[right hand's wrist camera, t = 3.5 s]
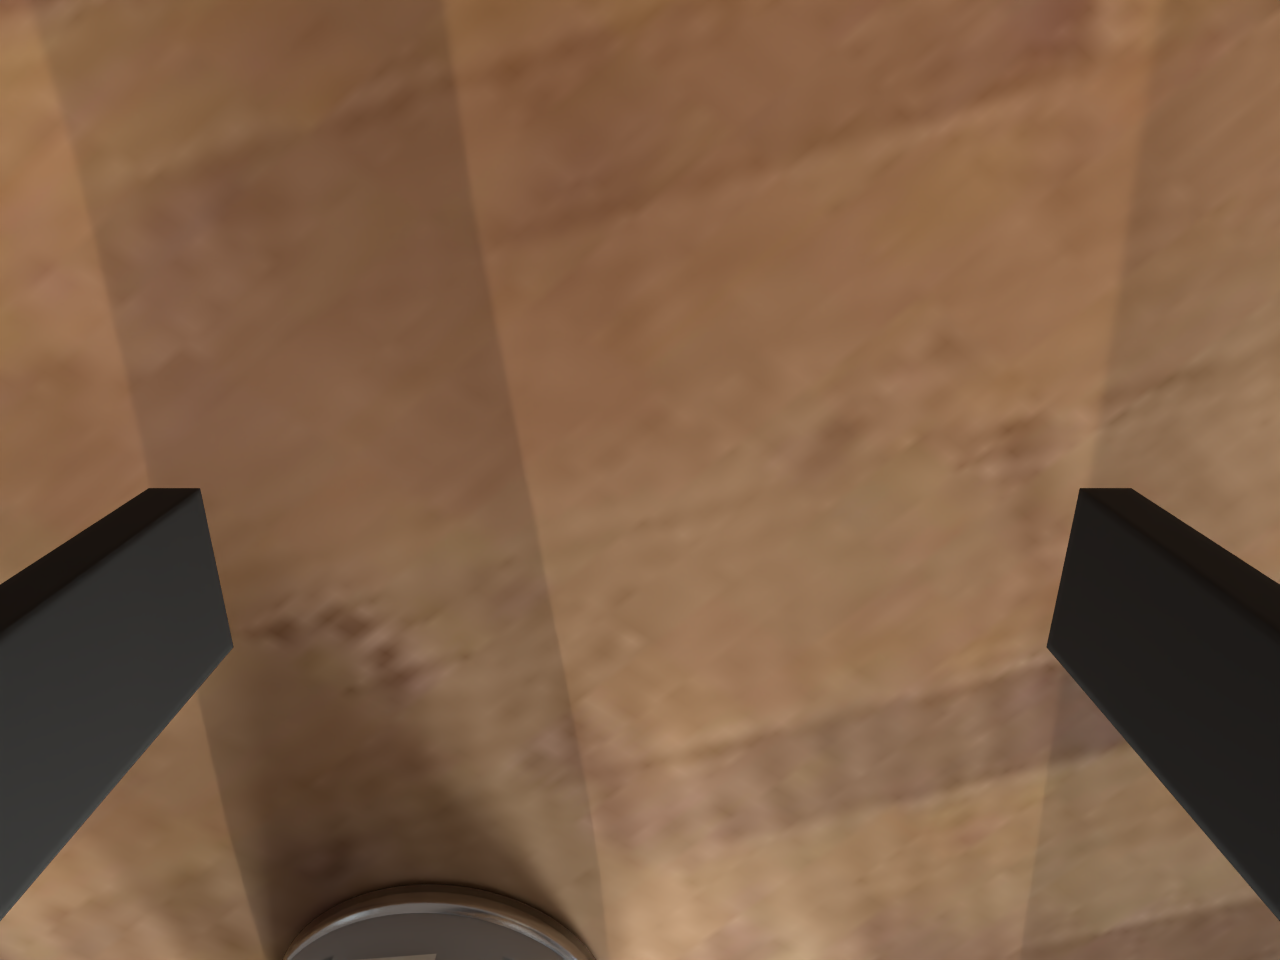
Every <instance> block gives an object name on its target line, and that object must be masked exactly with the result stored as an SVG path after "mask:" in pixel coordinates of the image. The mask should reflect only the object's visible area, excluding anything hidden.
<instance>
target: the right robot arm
mask: <svg viewBox="0 0 1280 960" xmlns="http://www.w3.org/2000/svg"><path fill="white" fill-rule="evenodd" d="M232 648H233V643H232V638H231V633H230V629H229V624H228V619H227V614H226V609H225V605H224V600H223V595H222V590H221V586H220V581H219V576H218V571H217V567H216V562H215V557H214V552H213V547H212V543H211V538H210V533H209V528H208V524H207V519H206V514H205V509H204V505H203V500H202V495H201V490H200V488H148V489H147V490H145V491H144V492H142V493H141V494H139V495H138V496H136V497H135V498H133V499H132V500H130V501H128V502H127V503H125V504H124V505H122V506H121V507H119V508H118V509H116V510H115V511H113V512H112V513H110V514H108V515H107V516H105V517H104V518H102V519H101V520H99V521H98V522H96V523H95V524H93V525H91V526H90V527H88V528H87V529H85V530H84V531H82V532H81V533H79V534H78V535H76V536H75V537H73V538H71V539H70V540H68V541H67V542H65V543H64V544H62V545H61V546H59V547H58V548H56V549H55V550H53V551H51V552H50V553H48V554H47V555H45V556H44V557H42V558H41V559H39V560H38V561H36V562H35V563H33V564H31V565H30V566H28V567H27V568H25V569H24V570H22V571H21V572H19V573H18V574H16V575H14V576H13V577H11V578H10V579H8V580H7V581H5V582H4V583H2V584H1V585H0V921H1V920H2V918H3V917H4V916H5V915H6V914H7V913H8V911H9V910H10V909H11V908H12V907H13V906H14V904H15V903H16V902H17V901H18V900H19V899H20V897H21V896H22V895H23V894H24V893H25V891H26V890H27V889H28V888H29V887H30V886H31V884H32V883H33V882H34V881H35V880H36V879H37V877H38V876H39V875H40V874H41V873H42V871H43V870H44V869H45V868H46V867H47V866H48V864H49V863H50V862H51V861H52V860H53V859H54V857H55V856H56V855H57V854H58V853H59V852H60V850H61V849H62V848H63V847H64V846H65V844H66V843H67V842H68V841H69V840H70V839H71V837H72V836H73V835H74V834H75V833H76V832H77V830H78V829H79V828H80V827H81V826H82V824H83V823H84V822H85V821H86V820H87V819H88V817H89V816H90V815H91V814H92V813H93V812H94V810H95V809H96V808H97V807H98V806H99V805H100V803H101V802H102V801H103V800H104V799H105V797H106V796H107V795H108V794H109V793H110V792H111V790H112V789H113V788H114V787H115V786H116V785H117V783H118V782H119V781H120V780H121V779H122V777H123V776H124V775H125V774H126V773H127V772H128V770H129V769H130V768H131V767H132V766H133V765H134V763H135V762H136V761H137V760H138V759H139V758H140V756H141V755H142V754H143V753H144V752H145V750H146V749H147V748H148V747H149V746H150V745H151V743H152V742H153V741H154V740H155V739H156V738H157V736H158V735H159V734H160V733H161V732H162V730H163V729H164V728H165V727H166V726H167V725H168V723H169V722H170V721H171V720H172V719H173V718H174V716H175V715H176V714H177V713H178V712H179V710H180V709H181V708H182V707H183V706H184V705H185V703H186V702H187V701H188V700H189V699H190V698H191V696H192V695H193V694H194V693H195V692H196V691H197V689H198V688H199V687H200V686H201V685H202V683H203V682H204V681H205V680H206V679H207V678H208V676H209V675H210V674H211V673H212V672H213V671H214V669H215V668H216V667H217V666H218V665H219V663H220V662H221V661H222V660H223V659H224V658H225V656H226V655H227V654H228V653H229V652H230V651H231V649H232ZM1047 648H1048V649H1049V651H1050V652H1051V653H1052V654H1053V655H1054V656H1055V658H1056V659H1057V660H1058V661H1059V662H1060V663H1061V665H1062V666H1063V667H1064V668H1065V669H1066V671H1067V672H1068V673H1069V674H1070V675H1071V676H1072V678H1073V679H1074V680H1075V681H1076V682H1077V683H1078V685H1079V686H1080V687H1081V688H1082V689H1083V691H1084V692H1085V693H1086V694H1087V695H1088V696H1089V698H1090V699H1091V700H1092V701H1093V702H1094V703H1095V705H1096V706H1097V707H1098V708H1099V709H1100V710H1101V712H1102V713H1103V714H1104V715H1105V716H1106V718H1107V719H1108V720H1109V721H1110V722H1111V723H1112V725H1113V726H1114V727H1115V728H1116V729H1117V730H1118V732H1119V733H1120V734H1121V735H1122V736H1123V738H1124V739H1125V740H1126V741H1127V742H1128V743H1129V745H1130V746H1131V747H1132V748H1133V749H1134V750H1135V752H1136V753H1137V754H1138V755H1139V756H1140V758H1141V759H1142V760H1143V761H1144V762H1145V763H1146V765H1147V766H1148V767H1149V768H1150V769H1151V770H1152V772H1153V773H1154V774H1155V775H1156V776H1157V777H1158V779H1159V780H1160V781H1161V782H1162V783H1163V785H1164V786H1165V787H1166V788H1167V789H1168V790H1169V792H1170V793H1171V794H1172V795H1173V796H1174V797H1175V799H1176V800H1177V801H1178V802H1179V803H1180V805H1181V806H1182V807H1183V808H1184V809H1185V810H1186V812H1187V813H1188V814H1189V815H1190V816H1191V817H1192V819H1193V820H1194V821H1195V822H1196V823H1197V824H1198V826H1199V827H1200V828H1201V829H1202V830H1203V832H1204V833H1205V834H1206V835H1207V836H1208V837H1209V839H1210V840H1211V841H1212V842H1213V843H1214V844H1215V846H1216V847H1217V848H1218V849H1219V850H1220V852H1221V853H1222V854H1223V855H1224V856H1225V857H1226V859H1227V860H1228V861H1229V862H1230V863H1231V864H1232V866H1233V867H1234V868H1235V869H1236V870H1237V871H1238V873H1239V874H1240V875H1241V876H1242V877H1243V879H1244V880H1245V881H1246V882H1247V883H1248V884H1249V886H1250V887H1251V888H1252V889H1253V890H1254V891H1255V893H1256V894H1257V895H1258V896H1259V897H1260V899H1261V900H1262V901H1263V902H1264V903H1265V904H1266V906H1267V907H1268V908H1269V909H1270V910H1271V911H1272V913H1273V914H1274V915H1275V916H1276V917H1277V918H1278V920H1279V921H1280V585H1279V584H1278V583H1276V582H1275V581H1273V580H1272V579H1270V578H1269V577H1267V576H1266V575H1264V574H1262V573H1261V572H1259V571H1258V570H1256V569H1255V568H1253V567H1252V566H1250V565H1249V564H1247V563H1245V562H1244V561H1242V560H1241V559H1239V558H1238V557H1236V556H1235V555H1233V554H1232V553H1230V552H1229V551H1227V550H1225V549H1224V548H1222V547H1221V546H1219V545H1218V544H1216V543H1215V542H1213V541H1212V540H1210V539H1209V538H1207V537H1205V536H1204V535H1202V534H1201V533H1199V532H1198V531H1196V530H1195V529H1193V528H1192V527H1190V526H1189V525H1187V524H1185V523H1184V522H1182V521H1181V520H1179V519H1178V518H1176V517H1175V516H1173V515H1172V514H1170V513H1168V512H1167V511H1165V510H1164V509H1162V508H1161V507H1159V506H1158V505H1156V504H1155V503H1153V502H1152V501H1150V500H1148V499H1147V498H1145V497H1144V496H1142V495H1141V494H1139V493H1138V492H1136V491H1135V490H1133V489H1132V488H1080V490H1079V495H1078V500H1077V505H1076V509H1075V514H1074V519H1073V524H1072V528H1071V533H1070V538H1069V543H1068V547H1067V552H1066V557H1065V562H1064V567H1063V571H1062V576H1061V581H1060V586H1059V590H1058V595H1057V600H1056V605H1055V609H1054V614H1053V619H1052V624H1051V629H1050V633H1049V638H1048V643H1047ZM282 960H596V959H595V958H594V956H593V955H592V953H591V952H590V951H589V950H588V949H587V947H586V946H585V945H584V944H583V943H582V942H581V941H580V940H579V939H578V938H577V937H576V936H575V935H574V934H573V933H571V932H570V931H569V930H568V929H566V928H565V927H564V926H563V925H561V924H560V923H558V922H557V921H555V920H554V919H552V918H551V917H549V916H548V915H546V914H544V913H542V912H540V911H539V910H537V909H535V908H533V907H531V906H529V905H526V904H524V903H522V902H519V901H517V900H514V899H511V898H509V897H506V896H503V895H500V894H496V893H492V892H488V891H485V890H480V889H474V888H469V887H462V886H454V885H438V884H422V885H406V886H397V887H391V888H386V889H381V890H377V891H373V892H369V893H366V894H362V895H360V896H357V897H354V898H351V899H349V900H347V901H344V902H342V903H340V904H338V905H336V906H334V907H332V908H331V909H329V910H327V911H326V912H324V913H322V914H321V915H320V916H318V917H317V918H316V919H314V920H313V921H312V922H310V923H309V924H308V925H307V926H306V927H305V928H304V929H303V930H302V931H301V932H300V933H299V934H298V935H297V937H296V938H295V939H294V940H293V942H292V943H291V945H290V946H289V948H288V949H287V951H286V953H285V955H284V957H283V959H282Z"/></svg>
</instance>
